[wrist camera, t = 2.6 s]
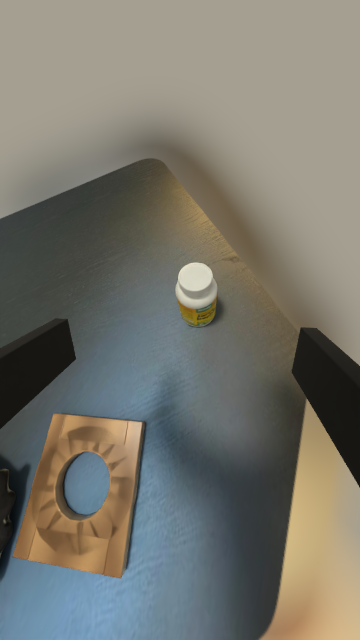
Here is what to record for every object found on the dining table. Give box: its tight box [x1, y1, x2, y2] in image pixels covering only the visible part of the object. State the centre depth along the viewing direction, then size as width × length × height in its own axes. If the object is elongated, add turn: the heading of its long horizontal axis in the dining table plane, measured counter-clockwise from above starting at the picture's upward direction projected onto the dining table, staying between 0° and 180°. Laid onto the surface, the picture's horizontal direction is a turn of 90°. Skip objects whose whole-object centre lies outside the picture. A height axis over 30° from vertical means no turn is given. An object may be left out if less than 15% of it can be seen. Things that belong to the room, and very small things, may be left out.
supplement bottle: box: [176, 263, 217, 327], centre depth 29 cm, size 5×5×10 cm
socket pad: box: [13, 413, 145, 578], centre depth 26 cm, size 12×14×2 cm
